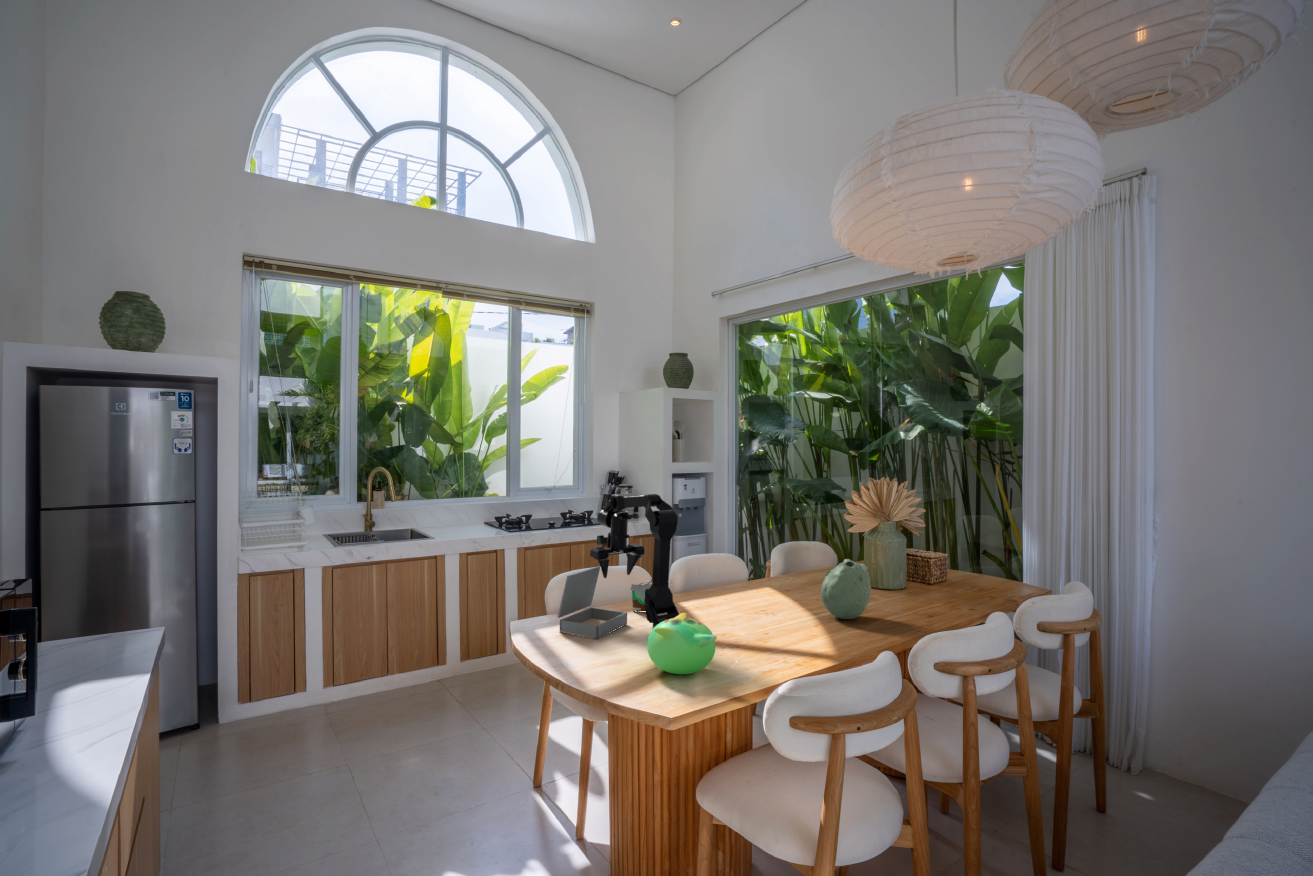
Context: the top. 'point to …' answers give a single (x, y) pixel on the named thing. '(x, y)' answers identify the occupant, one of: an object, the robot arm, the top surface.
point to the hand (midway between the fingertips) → (616, 576)
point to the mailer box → (593, 622)
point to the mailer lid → (578, 591)
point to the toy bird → (681, 645)
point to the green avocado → (846, 589)
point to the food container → (639, 595)
